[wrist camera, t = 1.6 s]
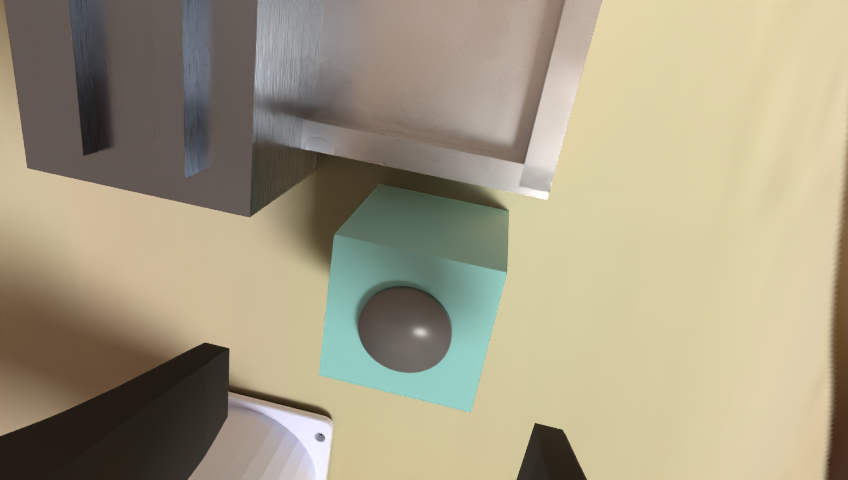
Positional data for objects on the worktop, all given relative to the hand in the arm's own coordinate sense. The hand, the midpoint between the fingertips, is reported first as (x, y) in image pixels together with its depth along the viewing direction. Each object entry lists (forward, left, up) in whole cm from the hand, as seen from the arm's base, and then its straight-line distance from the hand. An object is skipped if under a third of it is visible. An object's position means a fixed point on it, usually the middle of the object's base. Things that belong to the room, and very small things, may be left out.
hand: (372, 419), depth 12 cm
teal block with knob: (0, 0, -10) cm, 10 cm away
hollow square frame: (+9, +4, -9) cm, 13 cm away
